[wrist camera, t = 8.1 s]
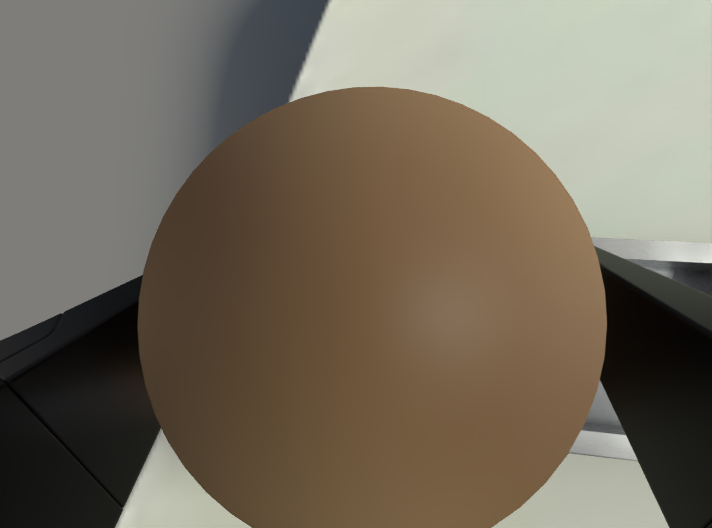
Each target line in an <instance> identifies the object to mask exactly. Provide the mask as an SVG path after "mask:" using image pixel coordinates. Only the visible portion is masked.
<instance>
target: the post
mask: <svg viewBox="0 0 712 528" xmlns="http://www.w3.org/2000/svg"><path fill="white" fill-rule="evenodd" d="M606 331H607V315H606V300H605V289H604V284H603V279H602V274H601V269H600V265H599V260H598V256H597V254H596V251H595V248H594V245H593V242H592V239H591V237H590V234H589V231H588V228H587V226H586V224H585V222H584V220H583V218H582V216H581V215H580V213H579V211H578V209H577V207H576V205H575V203H574V201H573V199H572V198H571V196H570V195H569V193H568V192H567V191H566V189H565V188H564V186H563V185H562V183H561V182H560V181H559V179H558V178H557V176H556V175H555V174H554V173H553V171H552V170H551V169H550V168H549V167H548V166H547V165H546V164H545V163H544V162H543V160H542V159H541V158H540V157H539V156H538V155H537V154H536V153H535V152H534V151H533V150H532V149H531V148H529V147H528V146H527V145H526V144H525V143H524V142H522V141H521V140H520V139H519V138H518V137H517V136H515V135H514V134H513V133H512V132H510V131H509V130H507V129H506V128H504V127H502V126H501V125H499V124H498V123H496V122H495V121H493V120H492V119H490V118H489V117H487V116H485V115H483V114H481V113H479V112H477V111H475V110H473V109H471V108H468V107H466V106H464V105H462V104H459V103H457V102H454V101H451V100H448V99H445V98H442V97H439V96H436V95H432V94H427V93H423V92H418V91H413V90H409V89H398V88H388V87H356V88H347V89H340V90H333V91H327V92H323V93H319V94H315V95H311V96H308V97H304V98H301V99H298V100H295V101H293V102H290V103H288V104H285V105H282V106H280V107H277V108H275V109H273V110H271V111H269V112H268V113H266V114H264V115H262V116H260V117H258V118H256V119H254V120H253V121H251V122H250V123H248V124H247V125H246V126H244V127H242V128H241V129H239V130H238V131H237V132H235V133H233V134H232V135H231V136H229V137H228V138H227V139H226V140H225V141H224V142H222V143H221V144H220V145H219V146H218V147H217V148H215V149H214V150H213V151H212V152H211V153H210V154H209V155H208V156H207V157H206V158H205V159H204V160H203V161H202V162H201V164H200V165H199V166H198V167H197V168H196V169H195V170H194V171H193V172H192V174H191V175H190V176H189V178H188V179H187V181H186V182H185V183H184V185H183V186H182V188H181V189H180V190H179V191H178V193H177V194H176V196H175V198H174V199H173V201H172V203H171V204H170V206H169V208H168V210H167V211H166V213H165V215H164V216H163V218H162V221H161V223H160V225H159V228H158V230H157V232H156V235H155V237H154V240H153V242H152V245H151V248H150V251H149V255H148V258H147V261H146V265H145V268H144V273H143V278H142V284H141V290H140V295H139V308H138V341H139V355H140V361H141V366H142V371H143V376H144V381H145V386H146V389H147V392H148V395H149V398H150V401H151V404H152V407H153V410H154V413H155V415H156V417H157V420H158V422H159V424H160V426H161V428H162V430H163V432H164V434H165V436H166V438H167V440H168V442H169V444H170V445H171V447H172V448H173V450H174V451H175V453H176V454H177V456H178V457H179V459H180V461H181V462H182V464H183V465H184V467H185V468H186V469H187V470H188V472H189V473H190V474H191V475H192V476H193V477H194V478H195V480H196V481H197V482H198V483H199V484H200V485H201V487H202V488H203V489H204V490H205V491H206V492H207V493H208V494H209V495H210V496H211V497H212V498H214V499H215V500H216V501H217V502H218V503H219V504H220V505H222V506H223V507H224V508H225V509H226V510H227V511H228V512H230V513H231V514H232V515H234V516H235V517H237V518H238V519H240V520H242V521H243V522H245V523H246V524H248V525H249V526H251V527H252V528H491V527H493V526H494V525H496V524H497V523H498V522H500V521H501V520H503V519H504V518H506V517H507V516H508V515H510V514H511V513H513V512H514V511H515V510H517V509H518V508H520V507H521V506H522V505H523V504H524V503H525V502H526V501H527V500H528V499H529V498H530V497H531V496H532V495H533V494H534V493H536V492H537V491H538V490H539V489H540V488H541V487H542V486H543V485H544V484H545V483H546V482H547V480H548V479H549V478H550V477H551V475H552V474H553V473H554V471H555V470H556V469H557V468H558V466H559V465H560V464H561V462H562V461H563V460H564V458H565V457H566V456H567V455H568V453H569V451H570V449H571V447H572V446H573V444H574V442H575V440H576V438H577V437H578V435H579V433H580V431H581V430H582V428H583V426H584V424H585V422H586V419H587V416H588V414H589V411H590V408H591V406H592V403H593V401H594V398H595V395H596V393H597V389H598V385H599V380H600V376H601V371H602V367H603V362H604V358H605V344H606Z"/></svg>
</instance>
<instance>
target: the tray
mask: <svg viewBox="0 0 712 528" xmlns="http://www.w3.org/2000/svg"><path fill="white" fill-rule="evenodd" d="M591 239H592V242H593V245H594V246H596V247H598V248H600V249H603V250H605V251H607V252H610V253H612V254H614V255H617V256H619V257H621V258H624V259H626V260H628V261H631V262H633V263H635V264H638V265H640V266H642V267H645V268H647V269H649V270H652V271H654V272H656V273H659V274H661V275H663V276H666V277H668V278H670V279H672V280H675V281H677V282H679V283H682V284H684V285H686V286H689V287H691V288H693V289H696V290H698V291H700V292H703V293H705V294H707V295H710V296H712V243H697V242H675V241H654V240H633V239H611V238H591ZM569 453H573V454H581V455H589V456H598V457H606V458H615V459H623V460H632V461H638V460H637V458H636V456H635V453H634V451H633V449H632V447H631V445H630V443H629V441H628V439H627V436H626V434H625V432H624V430H623V428H622V426H621V424H620V422H619V419H618V417H617V415H616V413H615V411H614V409H613V407H612V405H611V402H610V400H609V398H608V396H607V394H606V392H605V390H604V388H603V386H602V383H601V381H600V380H599V385H598V389H597V393H596V395H595V398H594V401H593V403H592V406H591V408H590V411H589V414H588V416H587V419H586V422H585V424H584V426H583V428H582V430H581V431H580V433H579V435H578V437H577V438H576V440H575V442H574V444H573V446H572V447H571V449H570V451H569Z"/></svg>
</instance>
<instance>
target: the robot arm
mask: <svg viewBox="0 0 712 528" xmlns="http://www.w3.org/2000/svg"><path fill="white" fill-rule="evenodd" d="M594 248H595V251H596V254H597V256H598V260H599V265H600V269H601V274H602V279H603V284H604V289H605V300H606V315H607V331H606V344H605V358H604V362H603V367H602V371H601V376H600V381H601V383H602V386H603V388H604V390H605V392H606V394H607V396H608V398H609V400H610V402H611V405H612V407H613V409H614V411H615V413H616V415H617V417H618V419H619V422H620V424H621V426H622V428H623V430H624V432H625V434H626V436H627V439H628V441H629V443H630V445H631V447H632V449H633V451H634V453H635V456H636V458H637V460H638V462H639V464H640V466H641V468H642V470H643V473H644V475H645V477H646V479H647V481H648V483H649V485H650V487H651V489H652V492H653V494H654V496H655V498H656V500H657V502H658V504H659V506H660V509H661V511H662V513H663V515H664V517H665V519H666V521H667V523H668V526H669V528H712V296H710V295H707V294H705V293H703V292H700V291H698V290H696V289H693V288H691V287H689V286H686V285H684V284H682V283H679V282H677V281H675V280H672V279H670V278H668V277H666V276H663V275H661V274H659V273H656V272H654V271H652V270H649V269H647V268H645V267H642V266H640V265H638V264H635V263H633V262H631V261H628V260H626V259H624V258H621V257H619V256H617V255H614V254H612V253H610V252H607V251H605V250H603V249H600V248H598V247H596V246H594ZM142 278H143V275H142V276H140V277H137V278H135V279H133V280H131V281H129V282H127V283H125V284H122V285H120V286H119V287H116V288H114V289H112V290H110V291H108V292H106V293H103V294H101V295H99V296H97V297H95V298H93V299H91V300H88V301H86V302H84V303H82V304H80V305H78V306H76V307H74V308H71V309H69V310H67V311H65V312H64V313H63V314H59V315H56V316H54V317H52V318H50V319H48V320H46V321H44V322H41V323H39V324H37V325H35V326H32V327H30V328H28V329H27V330H24V331H22V332H20V333H17V334H15V335H13V336H10V337H8V338H6V339H3V340H1V341H0V528H115V526H116V524H117V522H118V520H119V517H120V515H121V513H122V511H123V507H124V506H125V504H126V502H127V500H128V498H129V495H130V493H131V491H132V489H133V487H134V485H135V482H136V480H137V478H138V476H139V474H140V472H141V470H142V467H143V465H144V463H145V461H146V459H147V457H148V455H149V452H150V450H151V448H152V446H153V444H154V442H155V440H156V437H157V435H158V433H159V431H160V429H161V426H160V424H159V422H158V420H157V417H156V415H155V413H154V410H153V407H152V404H151V401H150V398H149V395H148V392H147V389H146V386H145V381H144V376H143V371H142V366H141V361H140V355H139V341H138V308H139V295H140V290H141V284H142Z"/></svg>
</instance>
